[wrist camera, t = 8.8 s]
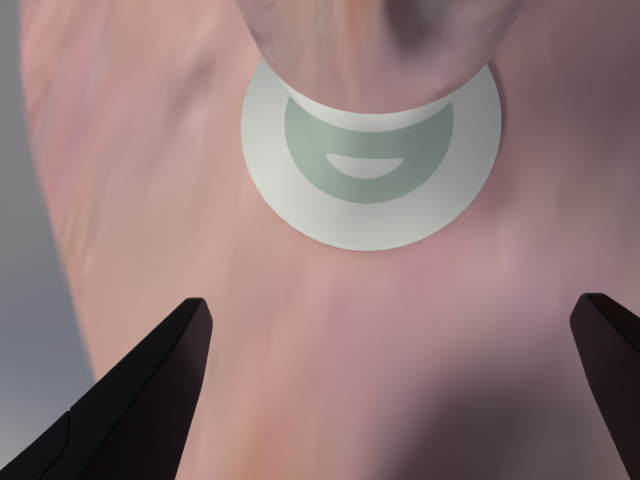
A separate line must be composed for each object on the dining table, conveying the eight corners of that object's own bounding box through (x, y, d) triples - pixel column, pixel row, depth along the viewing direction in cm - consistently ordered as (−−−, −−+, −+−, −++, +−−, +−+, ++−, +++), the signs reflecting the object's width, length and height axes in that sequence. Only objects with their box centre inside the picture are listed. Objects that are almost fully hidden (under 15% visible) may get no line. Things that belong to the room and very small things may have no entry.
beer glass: (269, 135, 20) (10, -296, 5) (361, 35, 20) (378, -687, 5) (372, 225, 19) (431, 31, 4) (468, 120, 19) (877, -456, 4)
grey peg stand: (500, 248, 19) (545, 240, 15) (247, 254, 21) (215, 248, 16) (485, 5, 21) (522, -73, 16) (247, 24, 22) (217, -44, 17)
